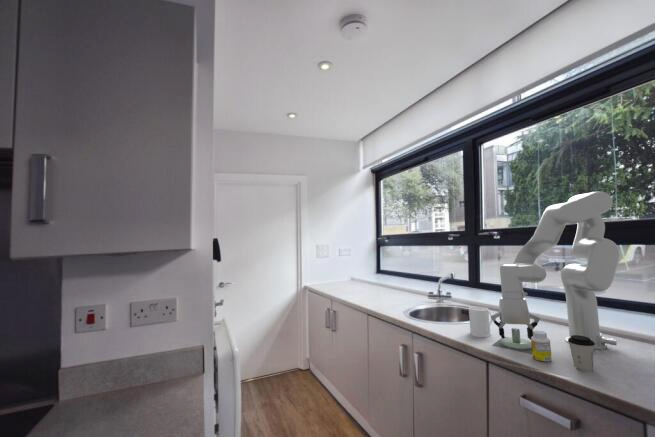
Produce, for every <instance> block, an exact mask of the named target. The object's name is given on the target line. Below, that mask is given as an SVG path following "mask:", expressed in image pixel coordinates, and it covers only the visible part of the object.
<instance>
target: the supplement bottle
mask: <svg viewBox="0 0 655 437" xmlns="http://www.w3.org/2000/svg"><path fill="white" fill-rule="evenodd" d="M547 335H548V334H547V332H546V331H543V330H533V336H532V337H531V340H530V341H531V344H532V354H531V355H532V360H533V361H535V362H537V363H541V364H551V363H553V357H552V349H551V339H550V338H548V336H547Z"/></svg>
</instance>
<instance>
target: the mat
mask: <svg viewBox="0 0 655 437" xmlns="http://www.w3.org/2000/svg"><path fill="white" fill-rule="evenodd" d="M505 338H510V337H508V336H505ZM501 339H503V338H502V337H501V338H500V339H498V340H497V341H495V342H494V343H492V345H491V346H493V347H497V348H502V349H507V350H510V351H511V350H512V351H516V352H521V353H525V354H529V355H532V348H531V349H525V350H522V349H513V348H509V347H506V346H504V345H502V344H501Z"/></svg>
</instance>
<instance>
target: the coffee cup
mask: <svg viewBox="0 0 655 437" xmlns="http://www.w3.org/2000/svg"><path fill="white" fill-rule="evenodd" d="M568 342H569V343H568V346H569V348H570V352H571V353H570V354H571V357H572V360H573V365H574V367H575V369H576V370H578V371H581V372H588V373H589V372H593V370H594V352H595V351H594V345H595V343H594V342H593V341H592V340H590V338H588V337H585V336H580V335H572V336H571V338H569V339H568Z"/></svg>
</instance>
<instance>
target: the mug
mask: <svg viewBox="0 0 655 437" xmlns="http://www.w3.org/2000/svg"><path fill="white" fill-rule="evenodd" d="M468 315H469V316H468V317H469V327H470V328H469V330H470V332H469V333H470V336H473V337H476V338H477V337H478V338H489V337H491V336H492V334H491V325H492V324H493V323H492V322H493V320H492V319H491V318H490V316H492V315H493V314H492V313H491V312H490V311H489V308H488V307H485V306H469V307H468Z"/></svg>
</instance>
